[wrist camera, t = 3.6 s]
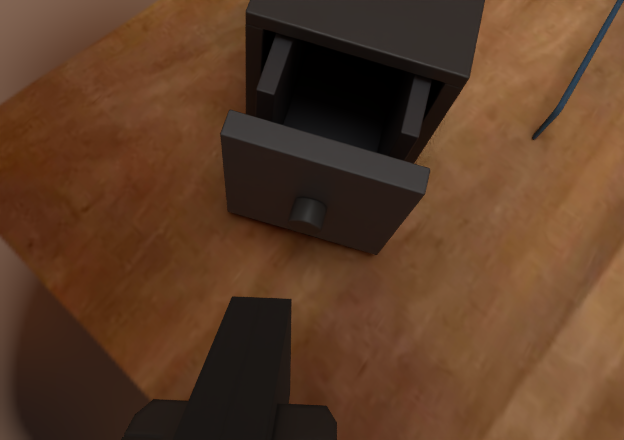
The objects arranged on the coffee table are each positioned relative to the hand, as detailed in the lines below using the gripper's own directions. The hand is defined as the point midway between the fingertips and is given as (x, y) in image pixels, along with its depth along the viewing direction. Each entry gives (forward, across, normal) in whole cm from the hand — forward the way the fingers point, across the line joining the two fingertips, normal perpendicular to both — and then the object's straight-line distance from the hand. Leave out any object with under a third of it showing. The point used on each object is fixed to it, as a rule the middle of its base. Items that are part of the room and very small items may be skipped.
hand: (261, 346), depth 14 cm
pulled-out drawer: (+19, +1, +2) cm, 19 cm away
